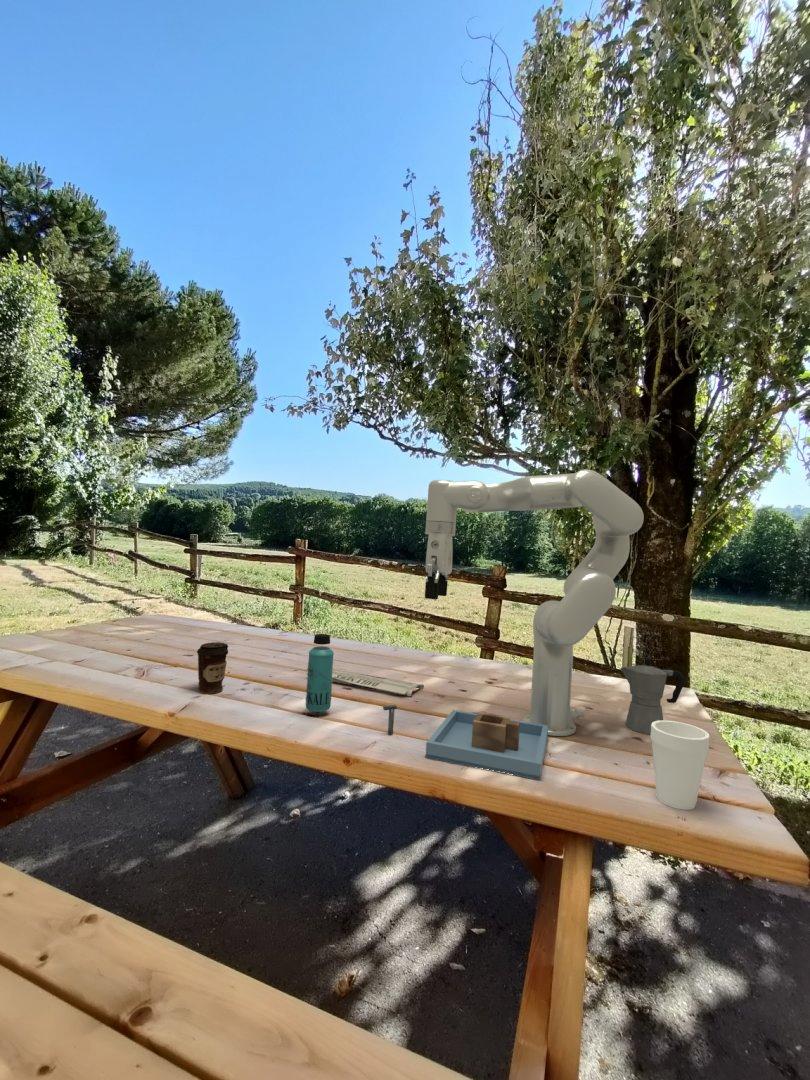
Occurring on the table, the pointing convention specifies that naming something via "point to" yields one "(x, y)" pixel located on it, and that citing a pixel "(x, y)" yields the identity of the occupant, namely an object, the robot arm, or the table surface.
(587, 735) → the table surface
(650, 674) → the coffeepot
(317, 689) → the beverage bottle
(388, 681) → the newspaper
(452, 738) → the slate tray
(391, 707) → the t head stake
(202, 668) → the coffee cup
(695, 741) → the foam cup
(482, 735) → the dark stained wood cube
